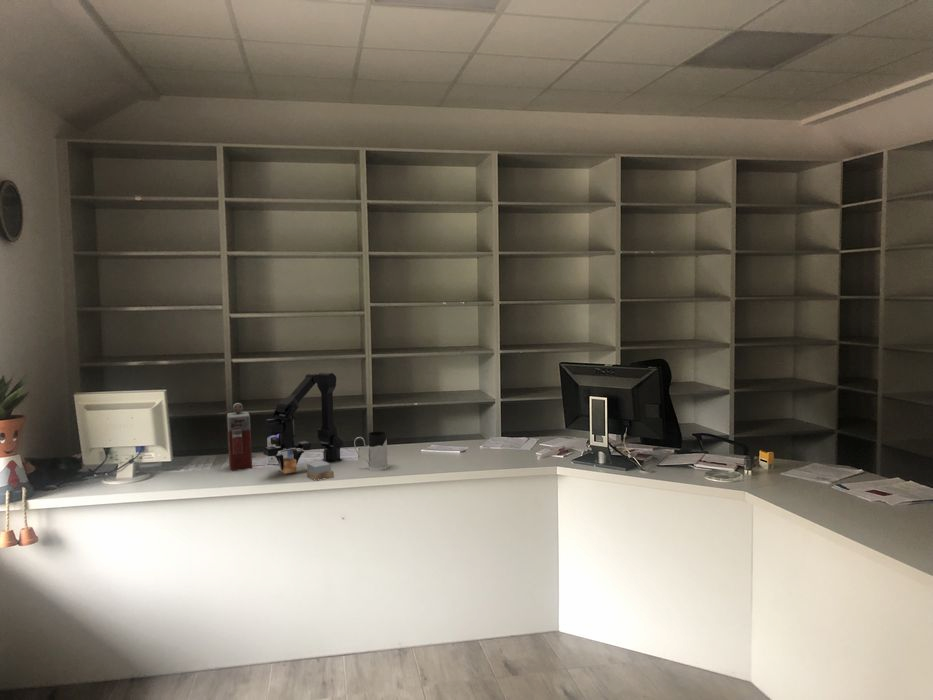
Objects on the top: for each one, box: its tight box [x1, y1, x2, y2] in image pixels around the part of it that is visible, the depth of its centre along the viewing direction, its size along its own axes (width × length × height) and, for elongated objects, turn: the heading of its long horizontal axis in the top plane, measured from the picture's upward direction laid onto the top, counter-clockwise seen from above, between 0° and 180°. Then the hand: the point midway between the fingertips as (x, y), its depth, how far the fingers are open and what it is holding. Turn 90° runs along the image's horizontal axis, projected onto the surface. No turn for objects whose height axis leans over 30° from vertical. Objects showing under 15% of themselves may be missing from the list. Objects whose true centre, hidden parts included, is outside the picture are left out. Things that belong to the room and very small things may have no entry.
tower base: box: [306, 469, 335, 481], centre depth 274 cm, size 8×8×3 cm
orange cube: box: [279, 458, 298, 475], centre depth 279 cm, size 5×5×5 cm
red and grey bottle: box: [226, 402, 253, 471], centre depth 289 cm, size 9×11×28 cm
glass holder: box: [353, 431, 389, 471], centre depth 286 cm, size 9×14×15 cm, turn 99°
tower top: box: [306, 460, 332, 474], centre depth 274 cm, size 7×7×3 cm
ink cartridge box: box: [266, 434, 293, 465], centre depth 296 cm, size 10×6×14 cm, turn 78°
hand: (288, 468), depth 279 cm, fingers closed on orange cube, 5 cm apart
